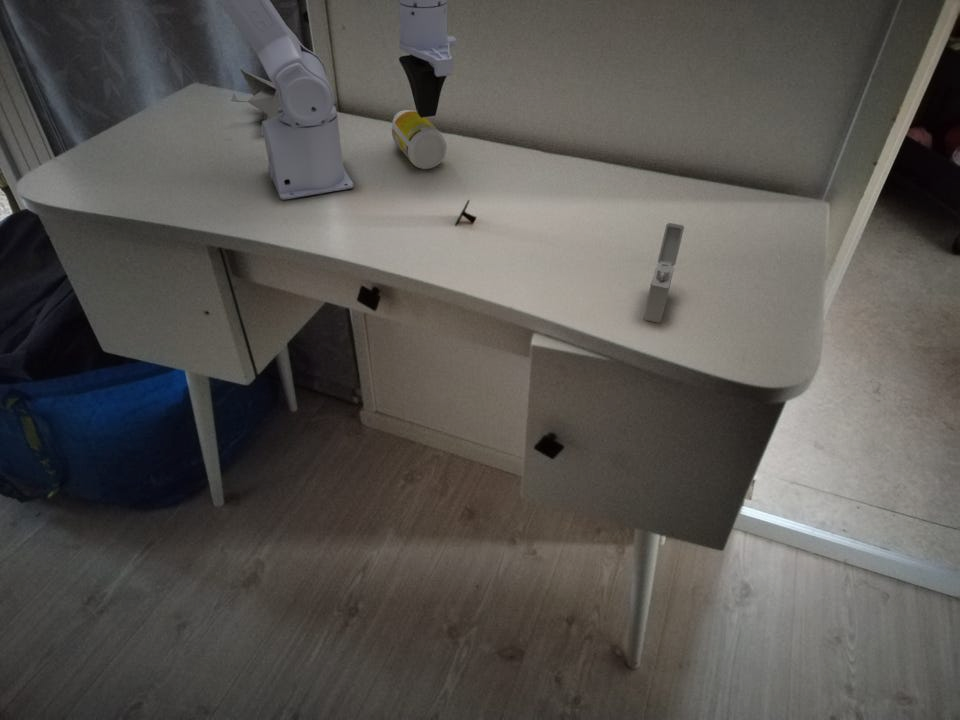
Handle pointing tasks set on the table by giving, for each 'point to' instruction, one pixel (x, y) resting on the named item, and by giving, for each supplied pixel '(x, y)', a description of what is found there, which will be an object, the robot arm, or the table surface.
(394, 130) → the supplement bottle
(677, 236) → the lighter
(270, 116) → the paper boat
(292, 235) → the table surface
